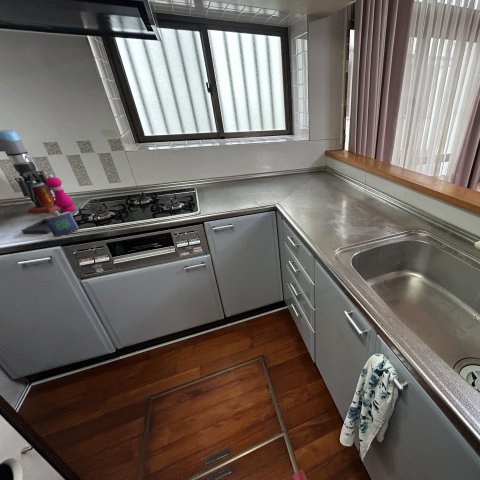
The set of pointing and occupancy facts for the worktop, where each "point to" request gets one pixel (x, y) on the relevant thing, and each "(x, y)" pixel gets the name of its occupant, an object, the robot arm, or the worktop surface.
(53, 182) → the pepper mill
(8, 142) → the robot arm
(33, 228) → the charcoal tray
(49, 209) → the red tray
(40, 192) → the soda can
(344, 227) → the worktop surface
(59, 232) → the flask
